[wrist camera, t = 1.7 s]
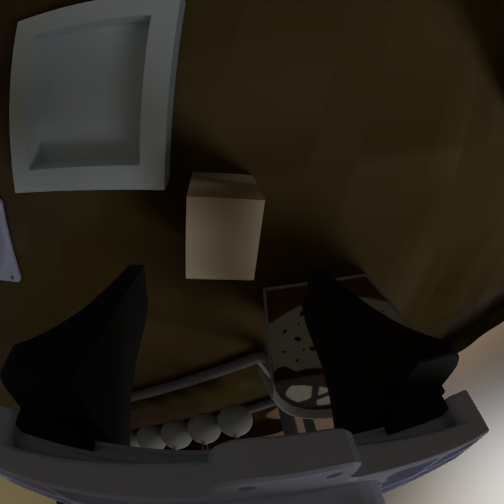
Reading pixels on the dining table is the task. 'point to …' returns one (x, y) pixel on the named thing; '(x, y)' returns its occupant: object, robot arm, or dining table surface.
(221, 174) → the beige cardboard-like cube
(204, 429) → the newton's cradle
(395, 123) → the dining table surface
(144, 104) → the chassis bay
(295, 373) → the food container
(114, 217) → the dining table surface
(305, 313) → the robot arm
